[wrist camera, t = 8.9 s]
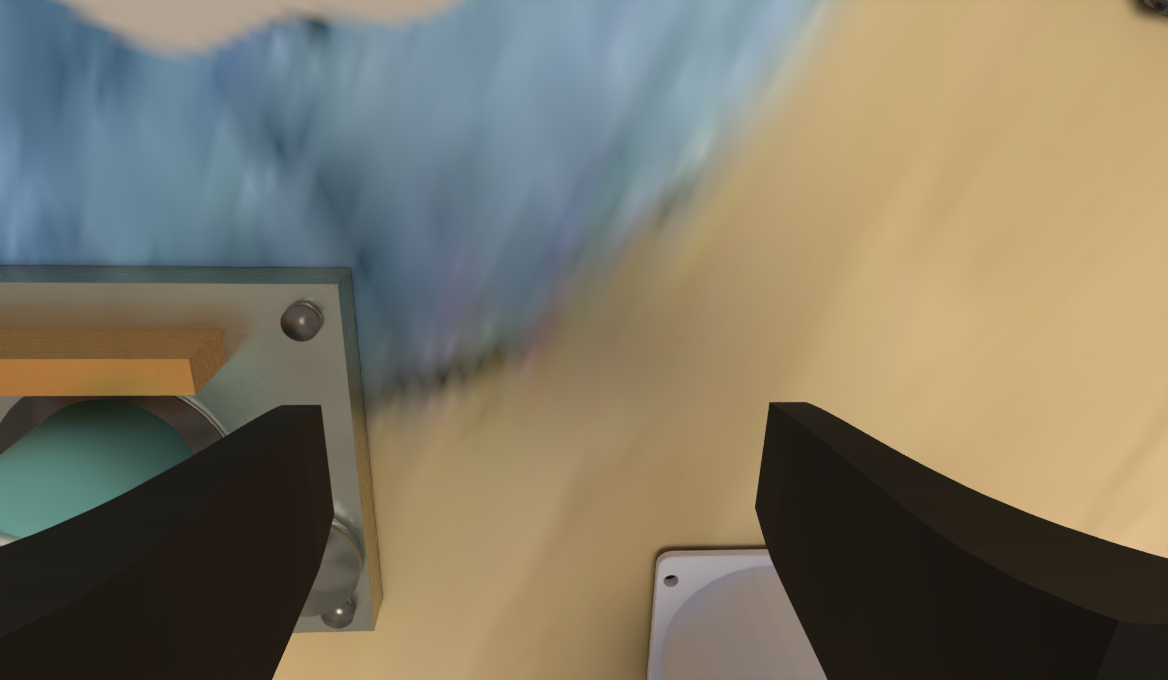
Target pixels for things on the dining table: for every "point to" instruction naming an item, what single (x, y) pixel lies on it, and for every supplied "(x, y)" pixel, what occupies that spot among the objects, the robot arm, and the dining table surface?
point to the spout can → (81, 463)
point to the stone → (1158, 5)
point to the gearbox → (206, 377)
